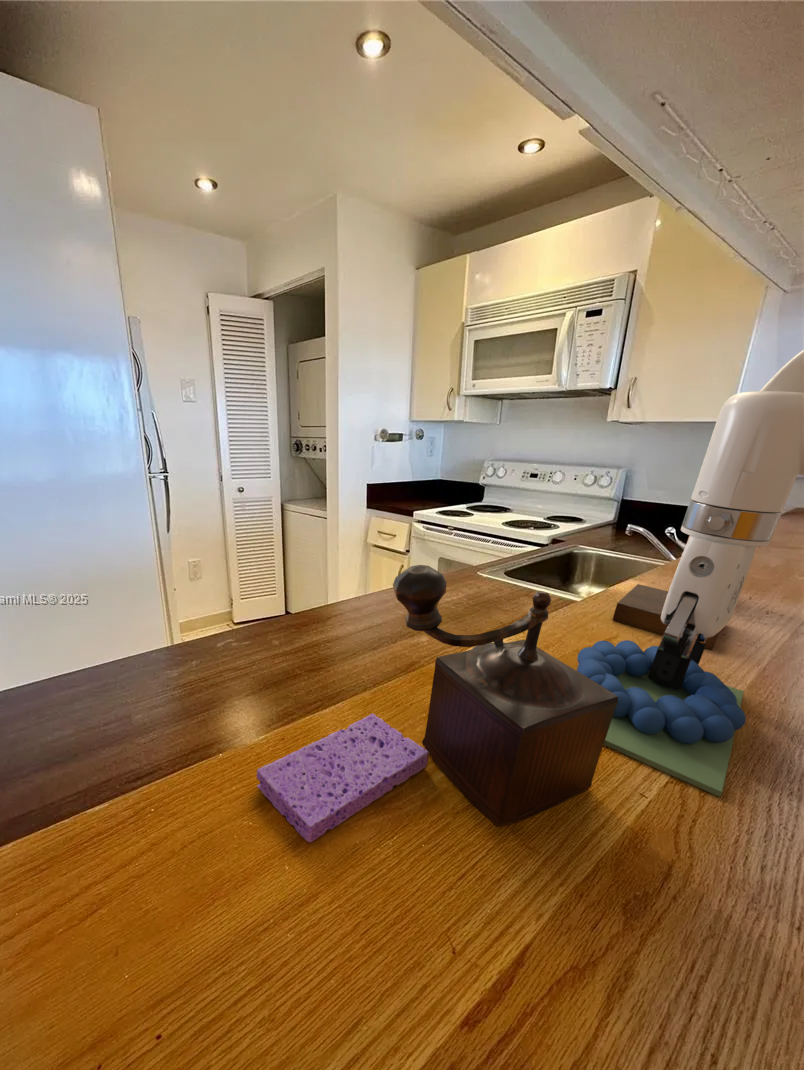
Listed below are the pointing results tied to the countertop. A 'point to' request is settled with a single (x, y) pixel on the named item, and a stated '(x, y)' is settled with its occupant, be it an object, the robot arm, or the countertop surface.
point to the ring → (684, 720)
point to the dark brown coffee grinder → (507, 710)
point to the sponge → (339, 775)
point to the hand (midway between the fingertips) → (671, 674)
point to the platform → (647, 611)
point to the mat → (671, 743)
